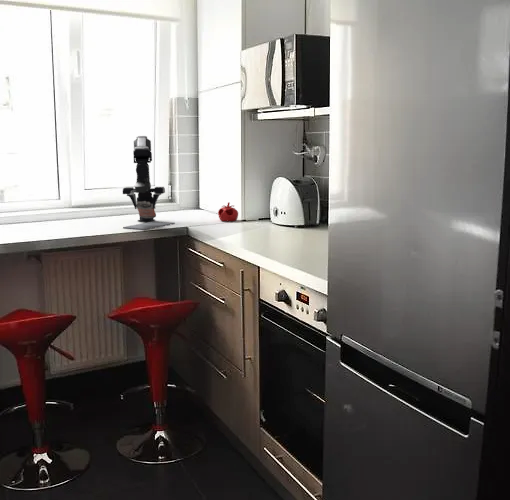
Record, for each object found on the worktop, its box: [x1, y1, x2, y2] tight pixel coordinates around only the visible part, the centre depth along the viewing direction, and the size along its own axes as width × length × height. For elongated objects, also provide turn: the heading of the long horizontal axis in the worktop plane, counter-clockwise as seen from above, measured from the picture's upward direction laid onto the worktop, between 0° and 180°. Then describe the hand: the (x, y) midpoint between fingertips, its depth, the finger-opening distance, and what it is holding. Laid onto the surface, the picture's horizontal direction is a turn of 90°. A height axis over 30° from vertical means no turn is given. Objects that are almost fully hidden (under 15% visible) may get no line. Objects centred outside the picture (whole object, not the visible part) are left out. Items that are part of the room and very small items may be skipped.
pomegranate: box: [217, 202, 239, 222], centre depth 297 cm, size 10×10×9 cm
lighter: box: [136, 201, 157, 218], centre depth 280 cm, size 8×3×10 cm
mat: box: [122, 220, 176, 231], centre depth 285 cm, size 13×22×1 cm, turn 148°
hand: (144, 209), depth 278 cm, fingers closed on lighter, 8 cm apart
